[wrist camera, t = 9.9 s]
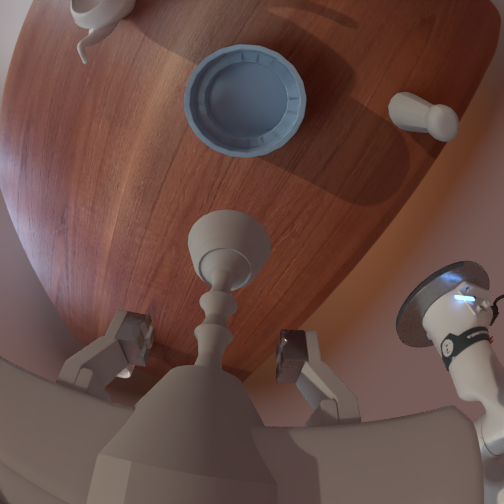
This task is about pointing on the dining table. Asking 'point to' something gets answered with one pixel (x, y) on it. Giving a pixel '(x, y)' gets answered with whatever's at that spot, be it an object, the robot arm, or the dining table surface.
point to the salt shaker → (423, 116)
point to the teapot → (98, 19)
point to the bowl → (245, 100)
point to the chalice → (197, 397)
